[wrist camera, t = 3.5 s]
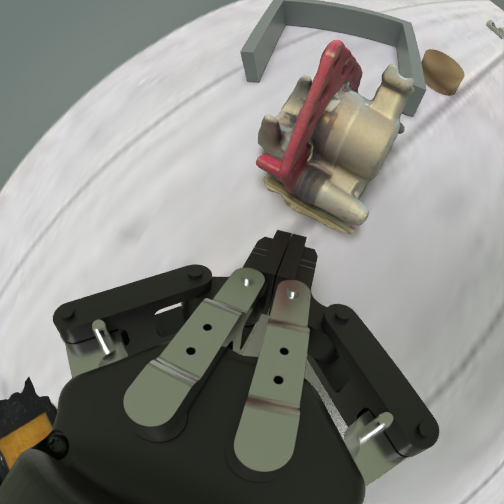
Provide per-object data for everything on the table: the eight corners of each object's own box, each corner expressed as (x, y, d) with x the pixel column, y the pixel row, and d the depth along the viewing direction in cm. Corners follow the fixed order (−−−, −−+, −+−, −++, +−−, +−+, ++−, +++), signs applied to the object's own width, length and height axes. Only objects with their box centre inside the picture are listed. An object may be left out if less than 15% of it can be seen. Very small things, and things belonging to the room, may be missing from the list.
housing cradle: (404, 45, 22) (411, 22, 19) (412, 116, 20) (426, 89, 16) (278, 20, 26) (275, -4, 22) (247, 81, 23) (240, 51, 20)
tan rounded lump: (451, 76, 21) (459, 60, 18) (458, 102, 20) (468, 85, 17) (416, 61, 22) (422, 44, 19) (420, 85, 21) (428, 67, 18)
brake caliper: (283, 66, 20) (378, 3, 9) (361, 146, 25) (465, 132, 14) (204, 154, 19) (284, 98, 8) (305, 238, 24) (422, 265, 13)
